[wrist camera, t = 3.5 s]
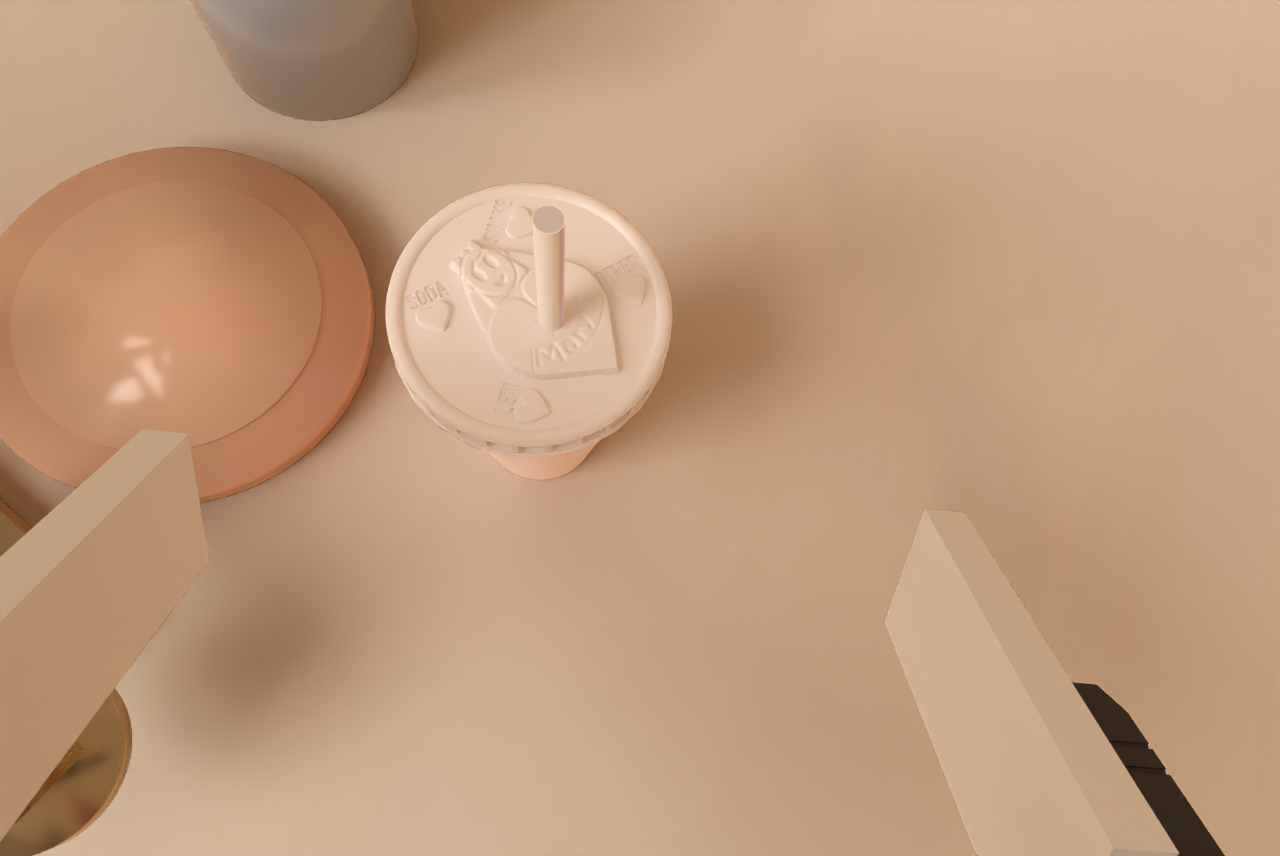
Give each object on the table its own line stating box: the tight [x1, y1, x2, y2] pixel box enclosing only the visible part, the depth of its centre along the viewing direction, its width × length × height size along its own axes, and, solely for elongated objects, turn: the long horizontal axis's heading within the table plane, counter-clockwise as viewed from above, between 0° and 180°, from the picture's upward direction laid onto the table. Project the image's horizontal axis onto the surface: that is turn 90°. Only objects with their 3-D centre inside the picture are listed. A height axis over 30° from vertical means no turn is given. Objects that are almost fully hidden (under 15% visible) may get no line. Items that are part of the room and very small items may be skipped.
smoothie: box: [385, 183, 672, 480], centre depth 20 cm, size 6×6×14 cm
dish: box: [0, 147, 375, 502], centre depth 26 cm, size 12×12×1 cm
